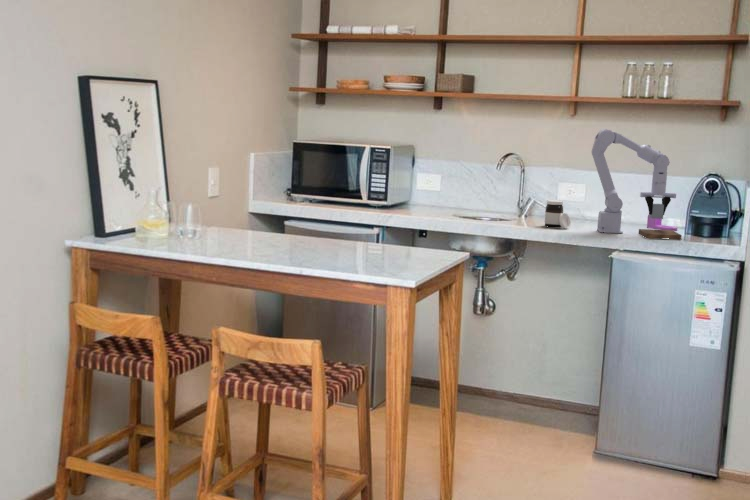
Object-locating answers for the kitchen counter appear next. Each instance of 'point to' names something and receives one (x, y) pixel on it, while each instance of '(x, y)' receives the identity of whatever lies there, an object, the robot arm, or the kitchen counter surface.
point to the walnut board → (659, 234)
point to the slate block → (657, 211)
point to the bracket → (658, 224)
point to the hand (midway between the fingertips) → (656, 214)
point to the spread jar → (556, 215)
